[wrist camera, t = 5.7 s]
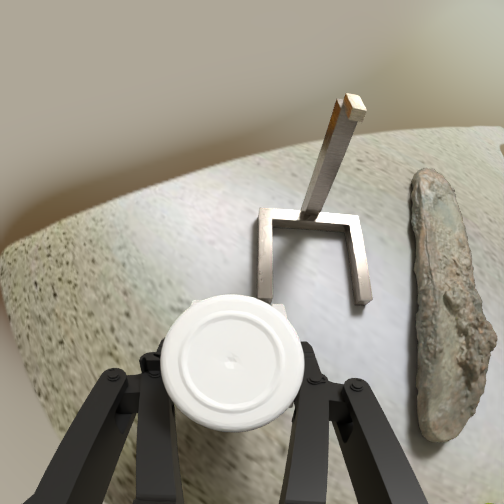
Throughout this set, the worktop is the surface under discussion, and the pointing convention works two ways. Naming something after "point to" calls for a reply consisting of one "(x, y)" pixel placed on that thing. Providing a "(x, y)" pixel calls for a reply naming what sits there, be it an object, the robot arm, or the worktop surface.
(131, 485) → the worktop surface
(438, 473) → the worktop surface
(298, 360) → the sprinkles bottle
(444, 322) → the elongated rock
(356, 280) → the metal stand
